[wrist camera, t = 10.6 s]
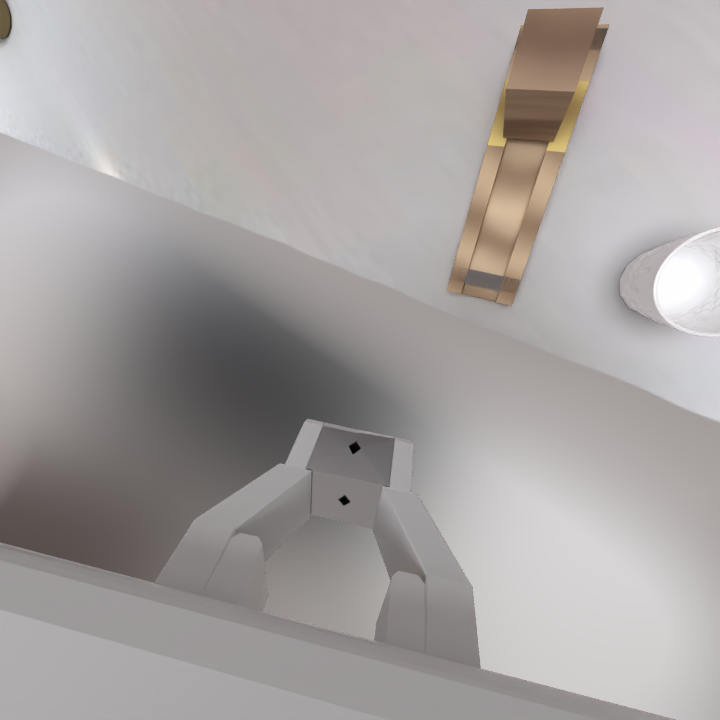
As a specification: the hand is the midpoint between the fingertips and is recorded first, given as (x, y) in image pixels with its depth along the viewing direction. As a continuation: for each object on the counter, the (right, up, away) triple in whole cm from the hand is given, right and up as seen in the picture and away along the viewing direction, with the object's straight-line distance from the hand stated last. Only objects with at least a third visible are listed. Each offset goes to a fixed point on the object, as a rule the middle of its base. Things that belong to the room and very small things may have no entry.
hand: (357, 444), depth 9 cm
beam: (+17, +21, +26) cm, 37 cm away
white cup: (+30, +10, +24) cm, 40 cm away
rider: (+17, +26, +22) cm, 38 cm away
